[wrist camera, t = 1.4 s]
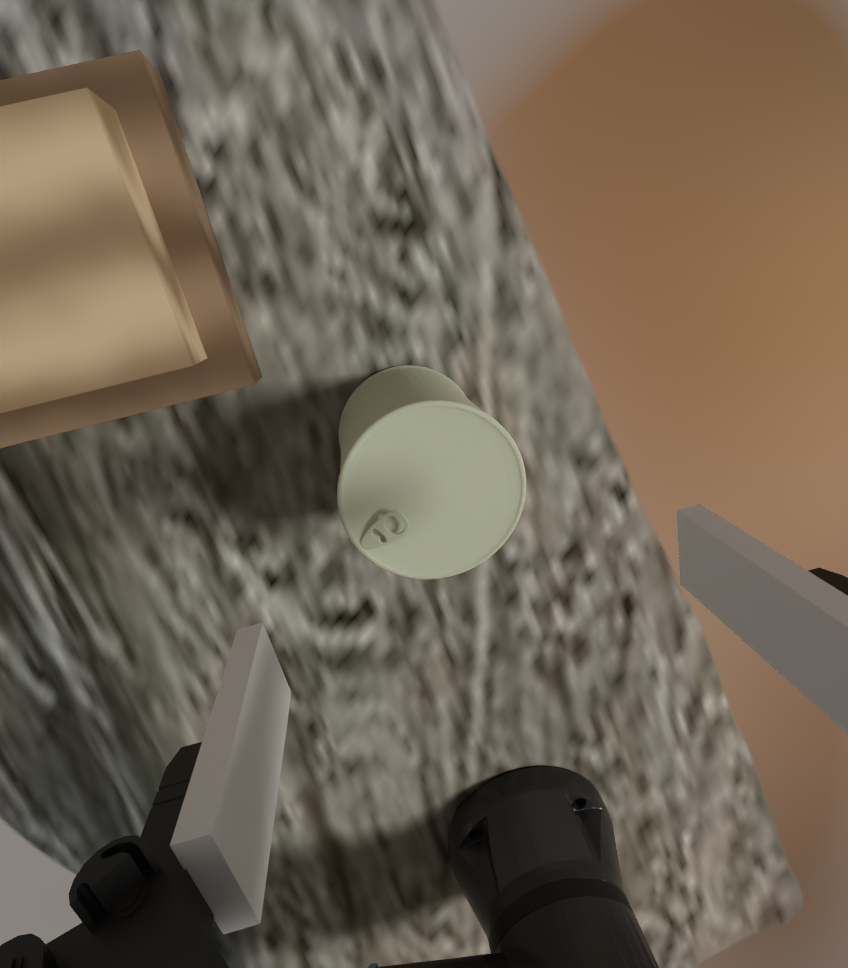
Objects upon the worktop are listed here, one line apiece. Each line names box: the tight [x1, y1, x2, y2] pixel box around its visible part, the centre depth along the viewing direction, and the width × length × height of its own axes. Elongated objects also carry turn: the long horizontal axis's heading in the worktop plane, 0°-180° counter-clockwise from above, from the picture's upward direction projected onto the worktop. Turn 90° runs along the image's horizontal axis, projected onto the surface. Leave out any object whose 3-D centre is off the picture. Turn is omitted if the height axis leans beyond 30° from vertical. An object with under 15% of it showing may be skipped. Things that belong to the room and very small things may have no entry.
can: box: [337, 365, 526, 579], centre depth 31 cm, size 9×9×12 cm
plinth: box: [0, 50, 262, 448], centre depth 27 cm, size 16×16×6 cm
